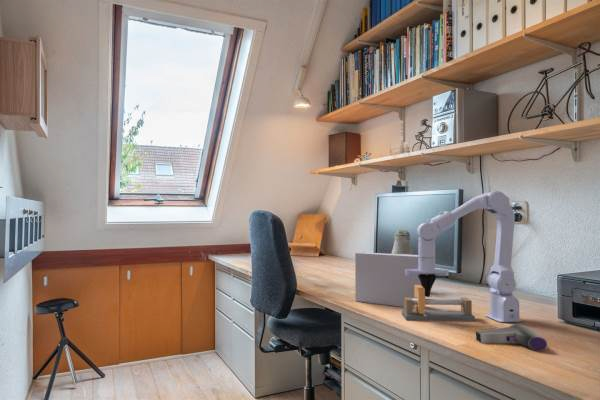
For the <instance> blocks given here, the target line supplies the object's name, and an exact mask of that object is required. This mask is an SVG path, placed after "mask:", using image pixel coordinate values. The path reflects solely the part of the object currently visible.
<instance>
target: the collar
mask: <svg viewBox="0 0 600 400" xmlns="http://www.w3.org/2000/svg"><path fill="white" fill-rule="evenodd" d="M414 296H415V299H418V305H415V308H414V310H416V311H417V312H418V313H419V314H425V310H426V305H425V299H426V297H425V288H423V287H422V286H421V285H414Z"/></svg>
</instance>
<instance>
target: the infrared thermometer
mask: <svg viewBox="0 0 600 400" xmlns="http://www.w3.org/2000/svg"><path fill="white" fill-rule="evenodd" d="M475 338H476V341H477V342H479V343H480V344H517V345H522V346H524V347H527V348H528V349H531V350H532V351H538V352H541V351H543V350H545V349H546V348H547V346H548V342H547V340H546V339H545V338H543V337H542V336H541V335H540V334H539V333H537V332H536V331H535V330H534V329H532V328H530V327H528V326H526V325H524V324H520V323H519V324H513V325H510V326H508V327H500V328H490V329H482V330H477V331H475Z"/></svg>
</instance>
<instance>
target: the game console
mask: <svg viewBox="0 0 600 400" xmlns="http://www.w3.org/2000/svg"><path fill="white" fill-rule="evenodd" d="M354 259H355V274H354V276H355V281H354V282H355V283H354V285H355V286H354V287H355V302H360V303H361V302H362V303H370V304H377V305H385V306H386V305H387V306H395V307H402V308H404V297H410V298H411V299H415V296H414V285H421V286H422V284H421V281H420V279H419V277H418V275H409V276H407V275H405V269H418V254H412V255H409V254H392V253H383V252H382V253H380V252H366V251H359V252H355V258H354ZM422 274H426V273H422ZM413 309H415V305H414V304H413Z"/></svg>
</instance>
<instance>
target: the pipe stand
mask: <svg viewBox="0 0 600 400" xmlns="http://www.w3.org/2000/svg"><path fill="white" fill-rule="evenodd" d="M413 304H414V305H418V299H411V298H410V297H404V307H403V309H402V310H401V315H402V316H403V318H404V319H405V320H406V321H433V322H434V321H443V322H444V321H446V322H448V321H449V322H451V321H452V322H455V321H457V322H475V321H476V320H475V319H476V318H475V315H474V314H472V313H473V312H472V311H473V309H472V308H473V307H472V306H473V305H472V304H473V302H472V300H471V299H470V298H467V297H460V299H459V298H425V306H427V305H429V306H430V305H431V306H432V305H433V306H434V305H436V306H437V305H439V306H451V305H452V306H460V310H426V309H425V314H419V313H418V312H417V311H416V310H415V309H414V308H413Z"/></svg>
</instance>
